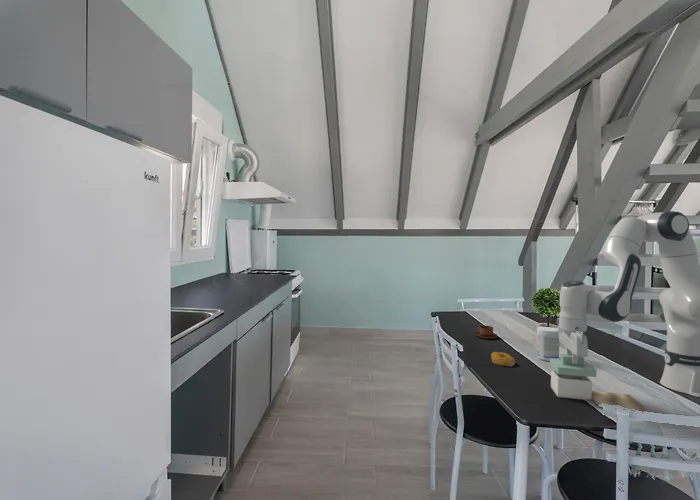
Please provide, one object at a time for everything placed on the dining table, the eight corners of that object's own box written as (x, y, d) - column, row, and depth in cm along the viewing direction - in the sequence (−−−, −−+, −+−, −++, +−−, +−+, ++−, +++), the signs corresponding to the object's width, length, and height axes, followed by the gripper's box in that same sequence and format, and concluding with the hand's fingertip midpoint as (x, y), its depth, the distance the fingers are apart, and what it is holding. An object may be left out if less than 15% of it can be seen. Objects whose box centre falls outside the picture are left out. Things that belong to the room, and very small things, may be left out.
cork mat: (629, 395, 136) (629, 394, 136) (649, 413, 122) (649, 411, 122) (584, 390, 140) (584, 389, 140) (599, 407, 126) (599, 406, 126)
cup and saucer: (472, 337, 213) (472, 327, 213) (480, 333, 222) (480, 323, 222) (492, 341, 205) (492, 330, 205) (500, 337, 214) (500, 327, 214)
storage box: (582, 390, 140) (582, 372, 140) (591, 400, 132) (591, 381, 131) (550, 387, 143) (551, 369, 143) (557, 396, 134) (558, 378, 134)
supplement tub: (562, 359, 175) (563, 329, 174) (552, 363, 170) (553, 332, 169) (542, 354, 183) (543, 325, 183) (532, 357, 178) (533, 328, 177)
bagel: (504, 369, 163) (504, 358, 163) (486, 361, 173) (486, 351, 173) (520, 365, 167) (520, 355, 167) (501, 358, 177) (501, 348, 177)
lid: (585, 366, 140) (585, 352, 140) (596, 377, 130) (596, 362, 130) (549, 364, 143) (550, 350, 143) (558, 374, 133) (558, 359, 133)
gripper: (593, 332, 125) (592, 371, 126) (572, 319, 145) (572, 353, 146) (573, 331, 127) (572, 370, 127) (555, 318, 147) (554, 352, 147)
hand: (572, 361), depth 137 cm, fingers closed on lid, 3 cm apart
